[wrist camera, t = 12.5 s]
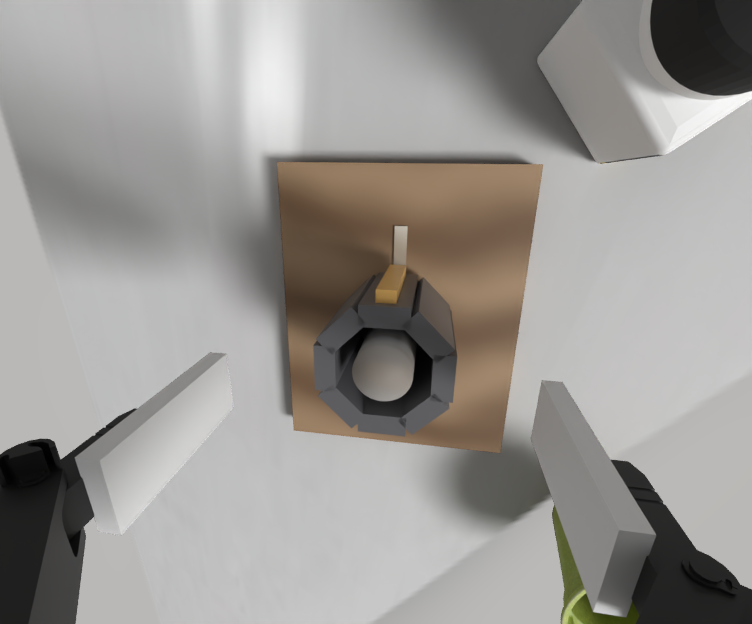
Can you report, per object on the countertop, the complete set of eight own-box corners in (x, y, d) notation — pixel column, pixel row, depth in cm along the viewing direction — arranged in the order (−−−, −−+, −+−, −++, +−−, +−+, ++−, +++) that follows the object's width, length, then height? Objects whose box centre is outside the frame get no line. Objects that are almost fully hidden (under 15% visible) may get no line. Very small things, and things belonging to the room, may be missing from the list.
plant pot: (539, 561, 32) (574, 687, 24) (519, 473, 30) (551, 580, 22) (660, 553, 30) (743, 687, 22) (650, 457, 28) (738, 568, 20)
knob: (345, 367, 27) (316, 426, 20) (344, 260, 24) (311, 288, 18) (445, 376, 26) (449, 441, 19) (455, 265, 23) (463, 297, 17)
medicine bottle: (596, 166, 22) (757, 147, 11) (532, 60, 21) (642, -81, 10) (723, 79, 20) (1083, -53, 9) (660, -45, 19) (985, -376, 8)
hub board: (285, 163, 25) (203, 150, 16) (536, 165, 23) (601, 152, 14) (300, 419, 31) (246, 511, 23) (497, 440, 29) (523, 551, 20)
